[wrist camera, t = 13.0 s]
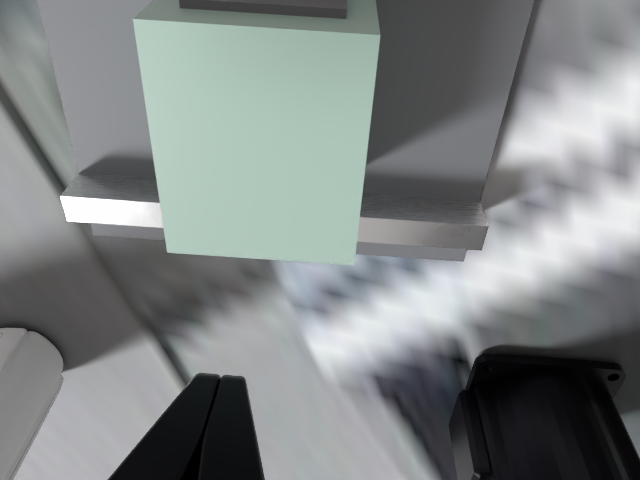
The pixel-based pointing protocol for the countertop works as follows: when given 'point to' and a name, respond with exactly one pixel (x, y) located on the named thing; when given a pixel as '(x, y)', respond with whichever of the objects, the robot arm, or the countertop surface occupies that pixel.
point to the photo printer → (24, 392)
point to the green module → (260, 123)
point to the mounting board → (384, 136)
